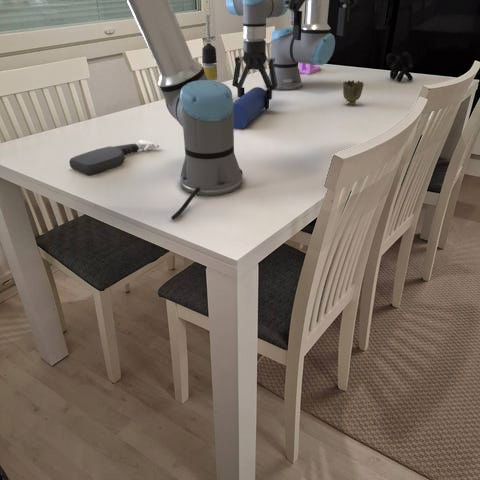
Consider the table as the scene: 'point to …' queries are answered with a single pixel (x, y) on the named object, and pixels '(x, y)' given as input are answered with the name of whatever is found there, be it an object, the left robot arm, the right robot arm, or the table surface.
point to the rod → (248, 107)
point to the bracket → (308, 68)
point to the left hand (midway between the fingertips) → (319, 37)
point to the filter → (209, 56)
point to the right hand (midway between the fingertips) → (254, 107)
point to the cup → (352, 91)
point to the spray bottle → (106, 157)
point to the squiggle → (399, 66)
